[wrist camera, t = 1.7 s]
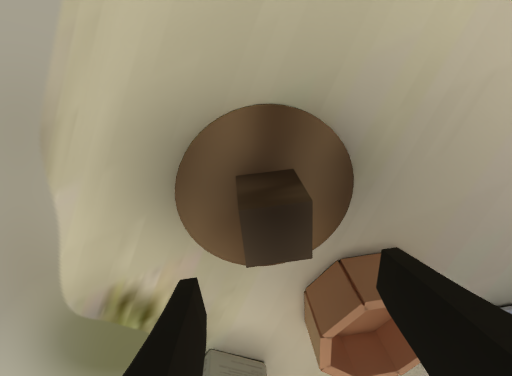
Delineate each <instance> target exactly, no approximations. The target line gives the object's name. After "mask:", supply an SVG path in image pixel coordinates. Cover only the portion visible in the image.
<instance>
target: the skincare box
mask: <svg viewBox="0 0 512 376" xmlns="http://www.w3.org/2000/svg"><path fill="white" fill-rule="evenodd" d="M203 376H267V374H266V366H265V364H264V363H262V362H259V361H255V360H251V359H247V358H243V357H239V356H236V355H232V354H228V353H224V352H220V351H216V350H209V352H208V353H207V355H206V356H205V359H204V368H203Z"/></svg>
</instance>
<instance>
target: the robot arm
mask: <svg viewBox="0 0 512 376" xmlns="http://www.w3.org/2000/svg"><path fill="white" fill-rule="evenodd" d="M376 289H377V291H378V293H379V295H380V297H381V299H382V301H383V303H384V305H385V307H386V309H387V311H388V313H389V314H390V316H391V318H392V319H393V321H394V322H395V324H396V325H397V327H398V329H399V330H400V332H401V333H402V335H403V336H404V338H405V339H406V341H407V342H408V344H409V345H410V347H411V348H412V350H413V351H414V353H415V354H416V356H417V357H418V359H419V361H420V362H421V364H422V365H423V367H424V368H425V370H426V371H427V373H428V374H429V376H512V306H508V307H501V308H499V307H497V306H495V305H493V304H492V303H490V302H488V301H486V300H484V299H483V298H481V297H479V296H477V295H475V294H473V293H472V292H470V291H468V290H467V289H465V288H463V287H461V286H460V285H458V284H456V283H455V282H453V281H451V280H450V279H448V278H446V277H445V276H443V275H441V274H440V273H438V272H436V271H435V270H433V269H431V268H430V267H428V266H427V265H425V264H423V263H422V262H420V261H419V260H417V259H415V258H414V257H412V256H410V255H409V254H407V253H406V252H404V251H402V250H400V249H399V248H397V247H396V248H389V249H383V250H382V251H381V257H380V264H379V271H378V277H377V284H376ZM206 326H207V314H206V311H205V307H204V303H203V299H202V295H201V291H200V288H199V284H198V280H197V277H196V278H190V279H183V280H180V281H179V282H178V284H177V286H176V288H175V290H174V292H173V294H172V296H171V298H170V300H169V301H168V303H167V305H166V307H165V309H164V311H163V312H162V314H161V316H160V318H159V319H158V321H157V323H156V324H155V326H154V328H153V330H152V331H151V333H150V335H149V336H148V338H147V340H146V341H145V343H144V344H143V346H142V347H141V349H140V350H139V352H138V353H137V355H136V356H135V358H134V360H133V361H132V363H131V364H130V366H129V367H128V368H127V370H126V371H125V373H124V374H123V376H203V368H204V359H205V350H206Z"/></svg>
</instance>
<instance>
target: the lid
mask: <svg viewBox="0 0 512 376" xmlns="http://www.w3.org/2000/svg"><path fill="white" fill-rule="evenodd" d="M353 181H354V176H353V168H352V164H351V160H350V157H349V154H348V152H347V150H346V148H345V146H344V144H343V143H342V141H341V140H340V138H339V137H338V136H337V135H336V133H335V132H334V131H333V130H332V129H331V128H330V127H329V126H327V125H326V124H325V123H324V122H322V121H321V120H320V119H318V118H316V117H315V116H313V115H311V114H309V113H307V112H305V111H302V110H300V109H297V108H294V107H289V106H285V105H276V104H261V105H253V106H248V107H243V108H240V109H237V110H234V111H232V112H230V113H227V114H225V115H223V116H221V117H220V118H218V119H216V120H215V121H213V122H212V123H210V124H209V125H208V126H207V127H206V128H205V129H203V130H202V131H201V132H200V133H199V134H198V135H197V137H196V138H195V139H194V140H193V141H192V143H191V144H190V146H189V147H188V149H187V151H186V152H185V154H184V157H183V159H182V161H181V163H180V166H179V169H178V173H177V176H176V183H175V200H176V206H177V210H178V213H179V216H180V219H181V221H182V223H183V225H184V227H185V229H186V230H187V231H188V233H189V234H190V236H191V237H192V238H193V239H194V240H195V241H196V242H197V243H198V244H199V245H200V246H201V247H203V248H204V249H205V250H207V251H208V252H210V253H211V254H213V255H215V256H217V257H219V258H221V259H223V260H226V261H229V262H232V263H236V264H241V265H246V268H248V267H255V266H269V265H276V264H281V263H285V262H291V261H298V260H305V259H312V250H314V249H315V248H317V247H318V246H319V245H321V244H322V243H323V242H324V241H325V240H327V239H328V238H329V237H330V235H331V234H332V233H333V232H334V231H335V230H336V228H337V227H338V226H339V225H340V223H341V221H342V220H343V218H344V216H345V214H346V212H347V210H348V207H349V205H350V201H351V198H352V193H353Z"/></svg>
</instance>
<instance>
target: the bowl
mask: <svg viewBox="0 0 512 376" xmlns="http://www.w3.org/2000/svg"><path fill="white" fill-rule="evenodd" d="M380 257H381V253H378V254H371V255H365V256H358V257H351V258H344V259H340V262H338V261H336V262H335V263H334V264H333V265H332V266H331V267H329V268H328V269H327V270H326V271H325V272H324V273H323V274H322V275H321V276H319V277H318V278H317V279H316V280H315V281H314V282H313V283H312V284H311V285H309V286H308V287H307V288H306V291H305V292H304V304H305V323H306V326H307V329H308V333H309V336H310V339H311V343H312V346H313V349H314V352H315V356H316V359H317V362H318V365H319V369H321V371H322V372H325V373H327V374H329V375H332V376H398V374H399V375H403V374H404V373H406V372H407V371H409V370H410V369H412V368H413V367H415V366H416V365H418V364H419V363H421V362H420V361H419V359H418V357H417V356H416V354H415V353H414V351H413V350H412V348H411V347H410V345H409V344H408V342H407V341H406V339H405V338H404V336H403V335H402V333H401V332H400V330H399V329H398V327H397V325H396V324H395V322H394V321H393V319H392V318H391V316H390V314H389V313H388V311H387V309H386V307H385V305H384V303H383V301H382V299H381V297H380V295H379V293H378V291H377V289H376V284H377V277H378V271H379V264H380Z"/></svg>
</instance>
